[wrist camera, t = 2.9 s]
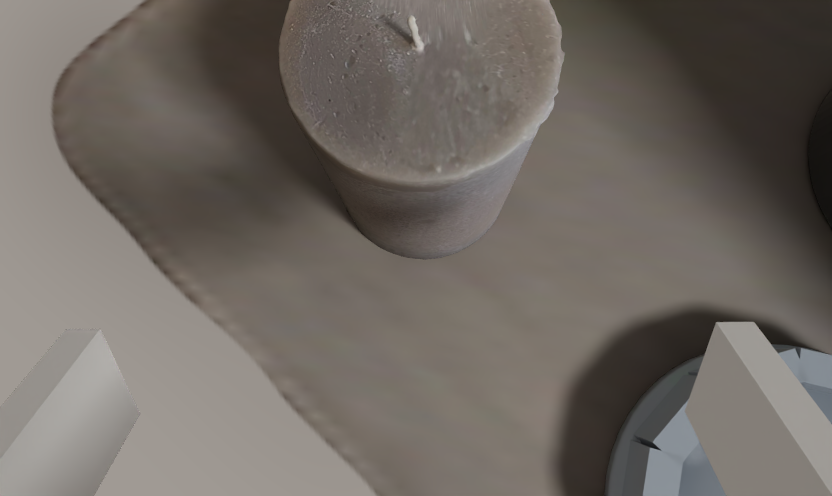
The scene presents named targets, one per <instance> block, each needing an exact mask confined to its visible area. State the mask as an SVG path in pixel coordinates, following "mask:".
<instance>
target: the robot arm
mask: <svg viewBox="0 0 832 496" xmlns="http://www.w3.org/2000/svg"><path fill="white" fill-rule="evenodd" d="M809 168H810V175H811V180H812V184H813V188H814V192H815V194H816V197H817V200H818V202H819V205H820V207H821V209H822V211H823V213H824V215H825V217H826V219H827V221H828V222H829V224H830V226H831V227H832V90H831V91H830V92H829V93H828V95H827V96H826V98H825V99H824V101H823V102H822V104H821V106H820V108H819V110H818V112H817V115H816V117H815V120H814V123H813V126H812V130H811V135H810V141H809ZM685 413H686V415H687V417H688V419H689V421H690V423H691V425H692V427H693V429H694V431H695V433H696V435H697V437H698V439H699V441H700V443H701V445H702V447H703V450H704V452H705V454H706V456H707V458H708V460H709V462H710V464H711V466H712V468H713V470H714V472H715V474H716V476H717V478H718V480H719V482H720V484H721V486H722V488H723V490H724V492H725V494H726V496H832V424H831V423H830V421H829V420H828V419H827V417H826V416H825V415H824V413H823V412H822V411H821V409H820V408H819V407H818V405H817V404H816V403H815V402H814V400H813V399H812V398H811V396H810V395H809V394H808V392H807V391H806V390H805V388H804V387H803V386H802V384H801V383H800V382H799V381H798V379H797V378H796V377H795V375H794V374H793V373H792V371H791V370H790V369H789V367H788V366H787V365H786V363H785V362H784V361H783V359H782V358H781V357H780V356H779V354H778V353H777V352H776V350H775V349H774V348H773V346H772V345H771V344H770V342H769V341H768V340H767V338H766V337H765V336H764V334H763V333H762V332H761V331H760V329H759V328H758V327H757V325H756V324H755V323H754V322H716V324H715V327H714V330H713V333H712V335H711V338H710V341H709V344H708V347H707V349H706V352H705V355H704V358H703V361H702V364H701V366H700V369H699V372H698V375H697V378H696V380H695V383H694V386H693V389H692V392H691V395H690V397H689V400H688V403H687V406H686V409H685ZM139 415H140V412H139V410H138V408H137V406H136V404H135V401H134V399H133V397H132V395H131V393H130V391H129V389H128V387H127V384H126V382H125V380H124V378H123V376H122V374H121V372H120V370H119V368H118V366H117V363H116V361H115V359H114V357H113V355H112V353H111V351H110V349H109V346H108V344H107V342H106V340H105V338H104V336H103V334H102V332H101V330H100V329H66V330H65V331H64V332H63V333H62V335H61V336H60V337H59V338H58V340H57V341H56V342H55V343H54V344H53V345H52V346H51V348H50V349H49V350H48V351H47V352H46V354H45V355H44V356H43V357H42V358H41V359H40V361H39V362H38V363H37V364H36V365H35V367H34V368H33V369H32V370H31V371H30V372H29V374H28V375H27V376H26V377H25V378H24V380H23V381H22V382H21V383H20V384H19V386H18V387H17V388H16V389H15V390H14V391H13V393H12V394H11V395H10V396H9V397H8V398H7V400H6V401H5V402H4V403H3V404H2V406H1V407H0V496H94V495H95V493H96V491H97V489H98V488H99V486H100V484H101V482H102V481H103V479H104V477H105V475H106V474H107V472H108V470H109V468H110V466H111V465H112V463H113V461H114V459H115V458H116V456H117V454H118V452H119V451H120V449H121V447H122V445H123V443H124V442H125V440H126V438H127V436H128V435H129V433H130V431H131V429H132V427H133V426H134V424H135V422H136V420H137V419H138V417H139Z"/></svg>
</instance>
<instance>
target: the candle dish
mask: <svg viewBox="0 0 832 496" xmlns="http://www.w3.org/2000/svg"><path fill="white" fill-rule="evenodd" d="M771 345H772V346H773V348H774V349H775V350H776V352H777V353H778V354H779V356H780V357H781V358H782V359H783V361H784V362H785V363H786V365H787V366H788V367H789V369H790V370H791V371H792V373H793V374H794V375H795V377H796V378H797V379H798V381H799V382H800V383H801V384H802V386H803V387H804V388H805V390H806V391H807V392H808V394H809V395H810V396H811V398H812V399H813V400H814V402H815V403H816V404H817V405H818V407H819V408H820V409H821V411H822V412H823V413H824V415H825V416H826V417H827V419H828V420H829V421H830V423H831V424H832V355H829V354H826V353H823V352H819V351H816V350H813V349H808V348H802V347H796V346H790V345H775V344H771ZM704 355H705V353H704V354H702V355H699V356H696V357H694V358H691V359H689V360H687V361H686V362H684V363H682V364H680V365H678V366H677V367H675V368H673V369H672V370H670V371H669V372H668V373H666V374H665V375H664V376H662V377H661V378H660V379H658V380H657V381H656V382H655V383H654V384H653V385H652V386H651V387H650V388H649V389H648V390H647V391H646V392H645V393H644V394H643V395H642V396H641V397H640V399H639V400H638V402H637V403H636V404H635V406H634V407H633V408H632V410H631V411H630V412H629V414H628V416H627V418H626V420H625V421H624V423H623V425H622V427H621V429H620V431H619V433H618V436H617V438H616V441H615V444H614V446H613V449H612V452H611V456H610V460H609V464H608V469H607V473H606V483H605V493H604V496H726V494H725V492H724V490H723V488H722V486H721V484H720V482H719V480H718V478H717V476H716V474H715V472H714V470H713V468H712V466H711V464H710V462H709V460H708V458H707V456H706V454H705V452H704V450H703V447H702V445H701V443H700V441H699V439H698V437H697V435H696V433H695V431H694V429H693V427H692V425H691V423H690V421H689V419H688V417H687V415H686V413H685V409H686V406H687V403H688V400H689V397H690V395H691V392H692V389H693V386H694V383H695V380H696V378H697V375H698V372H699V369H700V366H701V364H702V361H703V358H704Z"/></svg>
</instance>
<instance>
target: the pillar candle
mask: <svg viewBox="0 0 832 496" xmlns="http://www.w3.org/2000/svg"><path fill="white" fill-rule="evenodd" d="M549 1H550V0H291V1H290V2H289V7H288V10H287V13H286V15H285V19H284V23H283V26H282V31H281V34H280V38H279V57H278V58H279V72H280V78H281V84H282V88H283V91H284V93H285V97H286V99H287V102H288V104H289V106H290V109H291V111H292V114H293V116H294V118H295V119H296V121H297V123H298V124H299V126H300V128H301V130H302V131H303V133H304V135H305V137H306V138H307V140H308V142H309V144H310V146H311V147H312V149H313V150H314V152H315V154H316V155H317V157H318V159H319V161H320V163H321V165H322V166H323V168H324V170H325V172H326V173H327V175H328V177H329V179H330V181H332V183H333V185H334V186H335V188H336V191H337V192H338V193H339V196H340V198H341V199H342V201H343V203H344V205H345V206H346V209H347V212H348V213H349V215H350V216H351V217H352V219H353V220H354V221H355V223H356V225H357V227H358V229H359V230H360V231H361V233H362V234H363V235H364V236H365V237H367V238H368V239H369V240H371V241H372V242H373V243H374V244H376V245H377V246H379V247H380V248H382V249H384V250H386V251H388V252H391V253H393V254H397V255H400V256H403V257H407V258H415V259H432V258H434V259H435V258H441V257H444V256H448V255H451V254H454V253H457V252H459V251H461V250H463V249H465V248H466V247H468V246H470V245H471V244H473V243H474V242H476V241H477V240H478V239H479V238H481V237H482V236H483V235H484V234H485V233H486V232H487V231H488V230H489V228H490V227H491V226H492V224H493V223H494V221H495V220H496V219H497V217H498V215H499V213H500V211H501V208H502V206H503V204H504V202H505V200H506V198H507V196H508V194H509V192H510V190H511V188H512V185H513V183H514V181H515V179H516V177H517V175H518V173H519V170H520V168H521V166H522V164H523V161H524V159H525V157H526V155H527V153H528V150H529V148H530V146H531V144H532V141H533V139H534V137H535V135H536V133H537V132H538V129H539V127H540V125H541V123H543V122H544V121H545V120H546V119H547V118H548V116H549V114H550V113H551V110H552V109H553V105H554V99H553V98H554V96H555V95H556V94H557V93H558V90H557V85H558V83H559V76H560V72H561V65H562V63H563V61H564V55H565V52H563V51H562V50H561V38H562V31H561V26H560V24H559V23H558V21H557V18H556V15H555V11H554V10H553V8H552V6H551V4H550V2H549Z"/></svg>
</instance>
